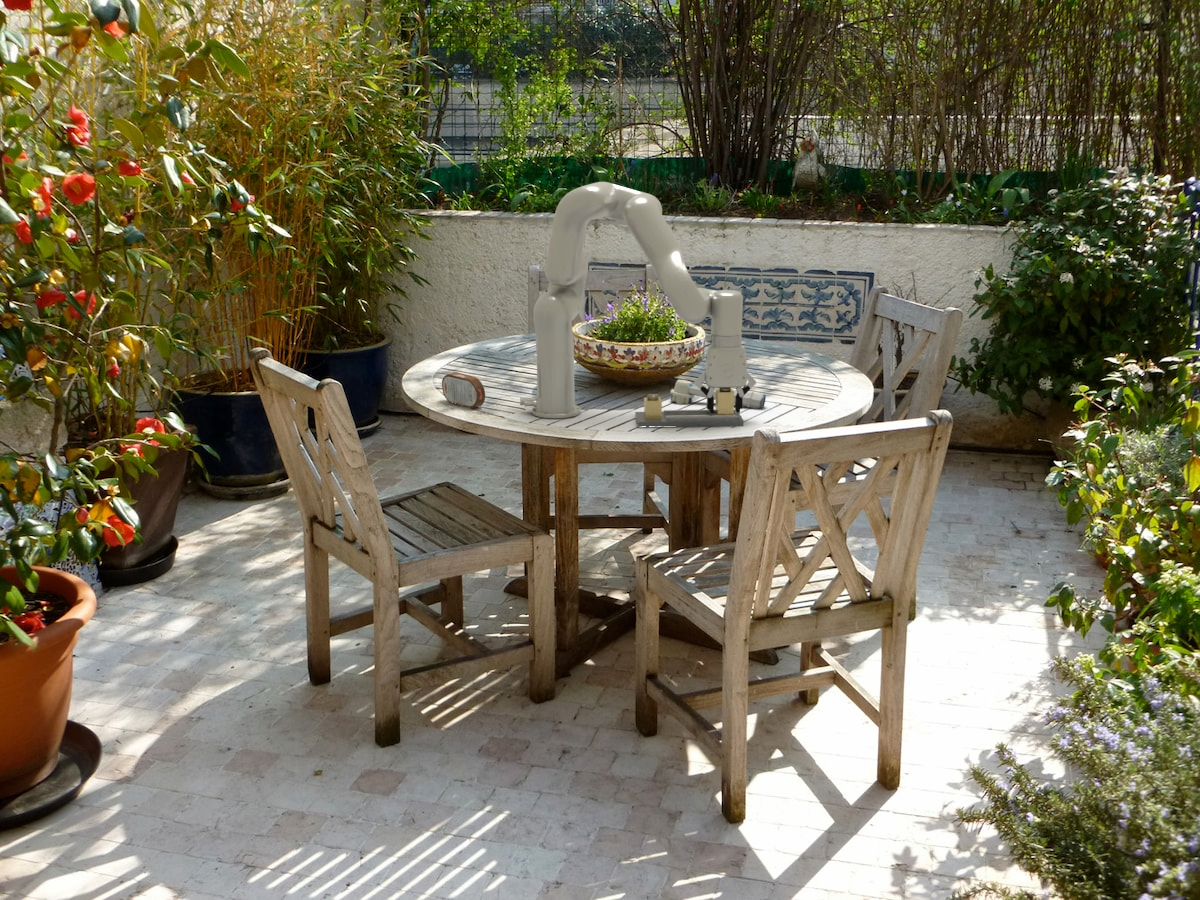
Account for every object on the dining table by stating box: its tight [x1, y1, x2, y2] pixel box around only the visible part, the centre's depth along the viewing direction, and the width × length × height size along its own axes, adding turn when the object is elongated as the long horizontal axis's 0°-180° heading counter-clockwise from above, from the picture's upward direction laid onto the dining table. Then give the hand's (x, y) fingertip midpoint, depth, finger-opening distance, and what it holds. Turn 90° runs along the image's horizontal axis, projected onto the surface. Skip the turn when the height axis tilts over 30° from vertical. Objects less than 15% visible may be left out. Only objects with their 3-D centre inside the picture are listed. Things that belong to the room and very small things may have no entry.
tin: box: [441, 371, 486, 409], centre depth 312 cm, size 15×3×8 cm, turn 47°
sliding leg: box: [714, 388, 735, 415], centre depth 294 cm, size 4×4×7 cm
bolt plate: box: [634, 408, 745, 428], centre depth 295 cm, size 26×10×2 cm, turn 93°
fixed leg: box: [643, 393, 663, 419], centre depth 294 cm, size 4×4×6 cm
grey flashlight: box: [670, 379, 767, 409], centre depth 312 cm, size 5×7×25 cm
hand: (724, 411), depth 295 cm, fingers open, 6 cm apart
